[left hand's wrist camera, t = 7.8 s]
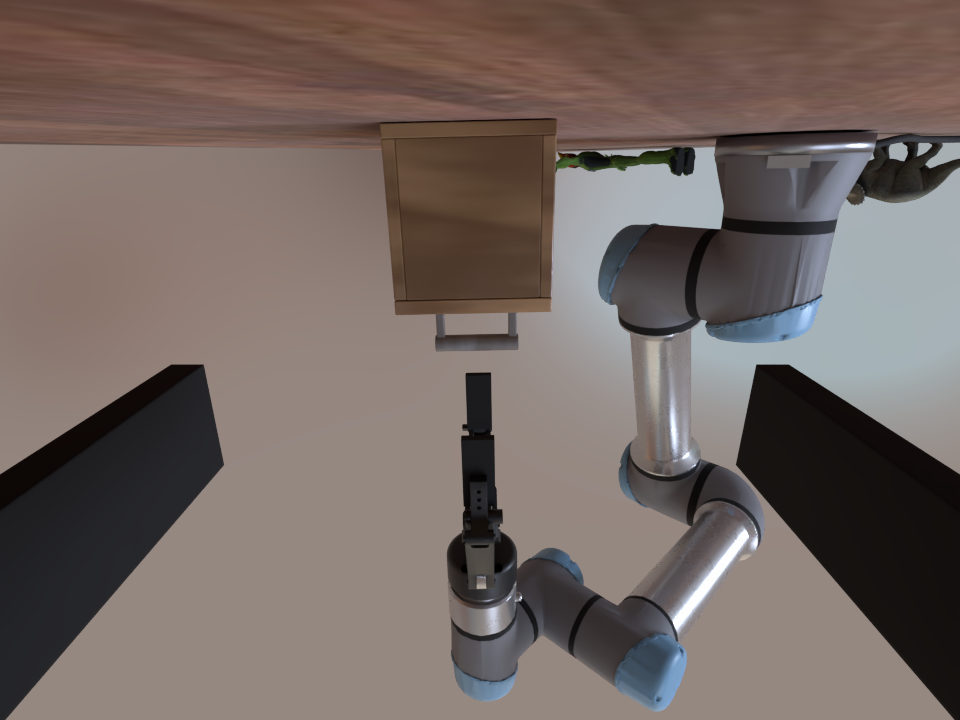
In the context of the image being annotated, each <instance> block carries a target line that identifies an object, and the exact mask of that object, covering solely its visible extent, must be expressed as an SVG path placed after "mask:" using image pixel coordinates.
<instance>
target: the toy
mask: <svg viewBox="0 0 960 720" xmlns="http://www.w3.org/2000/svg"><path fill="white" fill-rule="evenodd" d="M558 155H559V157H560V158H561V159H560V160H558V161H557V162H556V171H557V169H559V168H566V167H570V168H577V167H582V168H584V169H585V170H588V171H593V172H595V171H596V170H601V169H606V168H617V169H618V170H621V171H625V170H626V169H625V168H627V167H625V166H636V165H640V164H662V163H665V164H668V165H669V167H670V169H671V173H673V174H675V175H677V176H681V174H682V172H683V174H684V175H686V176H687V175H689V174H692V173H693V170H694V160H695V151H694V149H693V148H691V147H685V148H681V147H674V148H672V149H669V150H665V151H646V152H644V153H642V154H641V155H640V156H639V157H636V156H622V155H613V156H612V154H611V156H609V157H608V156H607V155H605V156H606V157H605V156H603V155H601V154H600V153H598V152H594V151H593V152H589V151H587V152H581V153H580V154H579V155H575V154H568V153H566V154H562V153H559V152H558ZM556 171H555V173H556Z"/></svg>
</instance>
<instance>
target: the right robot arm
mask: <svg viewBox="0 0 960 720" xmlns="http://www.w3.org/2000/svg"><path fill="white" fill-rule="evenodd" d="M877 135H878V133H874V132H847V133H810V134H784V135H763V136H745V137H730V138H720V139H717V140H716V146H715V154H714V156H715V162H716V165H717V172H718V178H719V183H720V188H721V193H722V199H723V204H724V211H723V219H722V226H721V229H706V228H692V227H679V226H665V225H658V224H651V225H630V226H627V227H625V228H624V229H622V230H621V231H620V232H618V233H617V234H616V236H615V237H614V238H613V240H612V241H611V242H610V244H609V246H608V248H607V250H606V253H605V255H604V257H603V260H602V263H601V266H600V271H599V278H598V289H599V294H600V296H601V298H602V299H603V300H604V301H605V302H607V303H608V304H610V305H614V304H616V305H617V307H618V318H619V323H620V325H621V327H622V328H623V329H624V330H626V331H627V332H629V333H630V337H631V350H632V363H633V377H634V391H635V404H636V418H637V432H638V436H637V437H636V438H635V439H634V440H633V441H632V442H630V443H629V445H628V446H627V447H626V449H625V451H624V453H623V455H622V458H621V461H620V463H621V467H620V468H619V483H620V486H621V489H622V491H623V493H624V494H625V495H626V496H627V497H628V498H630V499H632V500H634V501H636V502H637V503H639V504H640V505H641V506H644V507H648V508H651V509H654V510H656V511H658V512H660V513H662V514H665V515H667V516H669V517H671V518H673V519H676V520H678V521H680V522H682V523H685V524H687V525H689V526H691V528H690V529H689V530H688V531H687V532H686V533H685V534H684V535H683V536H682V537H681V539H680V540H679V541H678V542H677V543H676V544H675V545H674V546H673V547H672V548H671V549H670V551H669V552H668V553H667V554H666V555H665V556H664V557H663V558H662V559H661V560H660V561H659V563H658V564H657V565H656V566H655V567H654V568H653V569H652V570H651V571H650V572H649V573H648V575H647V576H646V577H645V578H644V579H643V580H642V581H641V582H640V583H639V584H638V585H637V587H636V588H635V589H634V590H633V591H632V592H631V593H630V594H629V595H628V596H627V597H626V598H625V599H624V600H623V601H622V602H621V603H620V604H619V605H618V606H617V605H615V604H613V603H611V602H610V601H608V600H606V599H605V598H603V597H602V596H600V595H598V594H597V593H595V592H593V591H592V590H590V589H588V588H587V587H585V586H583V584H584V582H583V576H582V573H581V570H580V568H579V567H578V565H577V564H576V563H575V562H572V560H571V559H570V556H569V555H568V554H566V553H565V552H563V551H561V550H559V549H556V548H546V549H543V550H541V551H540V552H539V553H537V554H536V555H535V556H533V557H532V558H529V559H528V560H526V561H525V562H524V563H522V565H521V566H520V567H519V568H518V569H517V550H516V546H515V544H514V543H513V541H512V540H511V539H510V538H509V537H508V536H507V535H506V534H504V533H502V532H500V529H498V527H500V524H502V523H503V514H502V509H497V490H496V487H495V456H494V435H491V433H490V432H491V431H492V407H491V373H466V402H467V424H463V425H462V429H463V431H468V432H469V436H461V448H462V474H463V499H464V506H465V511H464V512H463V530H462V533H461V534H459V535H458V536H456V537H455V538H454V539H453V541H452V542H451V543H450V545H449V547H448V550H447V567H448V579H449V580H448V594H449V611H450V616H451V629H452V650H451V657H452V661H453V664H454V671H455V678H456V681H457V683H458V685H459V687H460V688H461V690H462V691H463V692H464V693H465V694H467V695H468V696H470V697H471V698H473V699H475V700H479V701H493V700H497V699H499V698H501V697H503V696H504V695H506V694H507V693H508V692H509V691H510V689H511V688H512V686H513V684H514V682H515V677H516V672H517V666H518V662H517V660H518V659H519V657H520V656H521V655H522V654H523V653H524V652H525V651H526V650H527V649H528V648H529V647H530V646H531V645H532V644H533V643H534V642H535V641H536V639H537V638H539V637H540V636H541V635H543V636H545V637H547V638H548V639H549V640H551V641H552V642H554V643H555V644H556V645H558V646H559V647H561V648H562V649H564V650H565V651H566V652H568V653H569V654H571V655H572V656H574V657H575V658H576V659H578V660H579V661H581V662H582V663H584V664H585V665H586V666H588V667H589V668H590V669H592V670H593V671H594V672H596V673H597V674H599V675H600V676H601V677H603V678H604V679H605V680H607V681H608V682H609V683H611V684H612V685H613V686H615V687H616V688H617V689H618V690H619V691H620V692H621V693H622V694H624V695H627V696H628V697H630V698H632V699H633V700H635V701H636V702H638V703H640V704H641V705H643V706H645V707H646V708H648V709H650V710H652V711H661V710H663V709H665V708H666V707H667V706H668V705H669V704H670V702H671V700H672V699H673V697H674V695H675V692H676V690H677V688H678V687H679V685H680V682H681V680H682V677H683V674H684V671H685V667H686V662H687V654H686V651H685V649H684V647H683V646H682V645H681V644H680V643H681V641H682V640H683V639H684V637H685V636H686V634H687V633H688V631H689V630H690V629H691V627H692V626H693V624H694V623H695V621H696V620H697V619H698V617H699V616H700V614H701V613H702V612H703V610H704V609H705V607H706V606H707V605H708V603H709V602H710V600H711V599H712V598H713V596H714V595H715V593H716V592H717V590H718V589H719V588H720V586H721V585H722V583H723V582H724V581H725V579H726V578H727V576H728V575H729V573H730V572H731V571H732V569H733V568H734V566H735V565H736V564H737V562H738V561H740V560H744V559H747V558H749V557H750V556H751V555H752V554H753V553H754V552H755V550H756V549H757V548H758V546H759V545H760V543H761V541H762V538H763V535H764V528H765V523H764V515H763V511H762V508H761V505H760V502H759V500H758V498H757V497H756V495H755V493H754V491H753V490H752V489H751V487H750V486H749V485H748V484H747V483H746V482H745V481H744V480H743V479H742V478H741V477H740V476H738V475H737V474H735V473H734V472H732V471H730V470H729V469H727V468H724V467H721V466H719V465H716V464H713V463H710V462H708V461H705V460H702V459H700V448H699V445H698V443H697V442H696V441H695V439H694V438H693V437H691V330H692V329H693V328H695V327H696V326H697V325H698V324H699V323H700V322H701V320H706V321H707V323H706V325H705V327H706V328H707V332H708V334H709V335H710V336H712V337H716V338H717V339H721V340H725V341H732V342H744V343H765V342H777V341H783V340H788V339H792V338H796V337H798V336H800V335H802V334H804V333H805V332H807V331H808V330H809V329H810V328H811V326H812V324H813V322H814V319H815V316H816V312H817V309H818V306H819V303H820V301H821V300H822V294H821V291H822V287H823V282H824V278H825V273H826V269H827V264H828V259H829V255H830V250H831V246H832V241H833V237H834V232H835V228H836V223H837V219H838V214H839V211H840V208H841V206H842V204H843V203H844V201H845V199H846V198H847V196H848V194H849V193H850V191H851V189H852V188H853V186H854V184H855V182H856V181H857V179H858V177H859V176H860V174H861V172H862V171H863V169H864V167H865V166H866V164H867V162H868V161H869V159H870V157H871V155H872V153H873V152H874V149H875V148H879V147H883V146H887V145H890V144H895V143H900V142H918V143H954V142H960V136H920V135H913V134H906V135H898V136H893V137H889V138H885V139H881V140H878V141H876V140H877ZM491 506H492V509H491Z"/></svg>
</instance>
